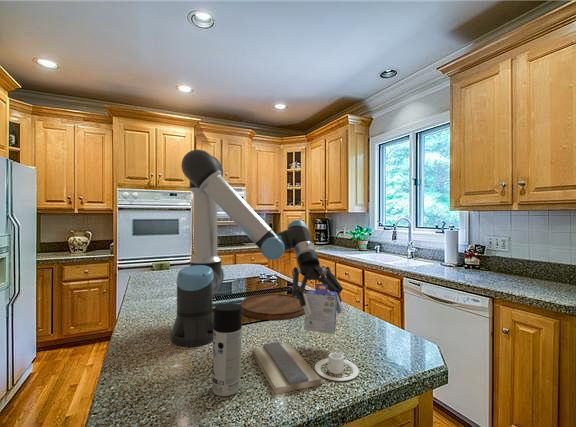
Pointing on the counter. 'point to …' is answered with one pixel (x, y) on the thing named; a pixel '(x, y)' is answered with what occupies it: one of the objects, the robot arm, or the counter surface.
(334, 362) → the candle holder
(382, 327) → the counter surface
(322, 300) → the ink cartridge box
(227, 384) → the spray can
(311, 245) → the robot arm
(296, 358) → the rail board
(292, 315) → the cutting board
